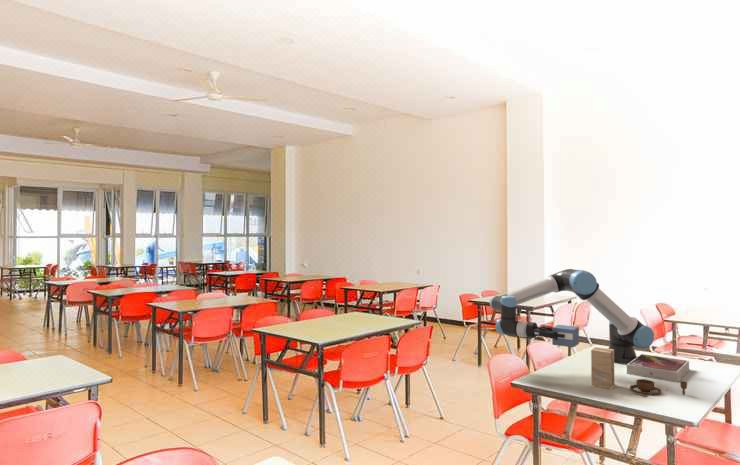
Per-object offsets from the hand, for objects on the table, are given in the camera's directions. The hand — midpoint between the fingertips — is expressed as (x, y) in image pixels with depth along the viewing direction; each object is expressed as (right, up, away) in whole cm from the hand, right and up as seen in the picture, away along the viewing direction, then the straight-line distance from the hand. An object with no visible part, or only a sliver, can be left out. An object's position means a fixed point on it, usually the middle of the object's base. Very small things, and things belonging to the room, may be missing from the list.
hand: (575, 335), depth 231 cm
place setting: (+28, -23, -15) cm, 39 cm away
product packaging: (+49, -23, +18) cm, 57 cm away
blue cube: (-4, -5, +3) cm, 7 cm away
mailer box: (+11, -22, -3) cm, 25 cm away
